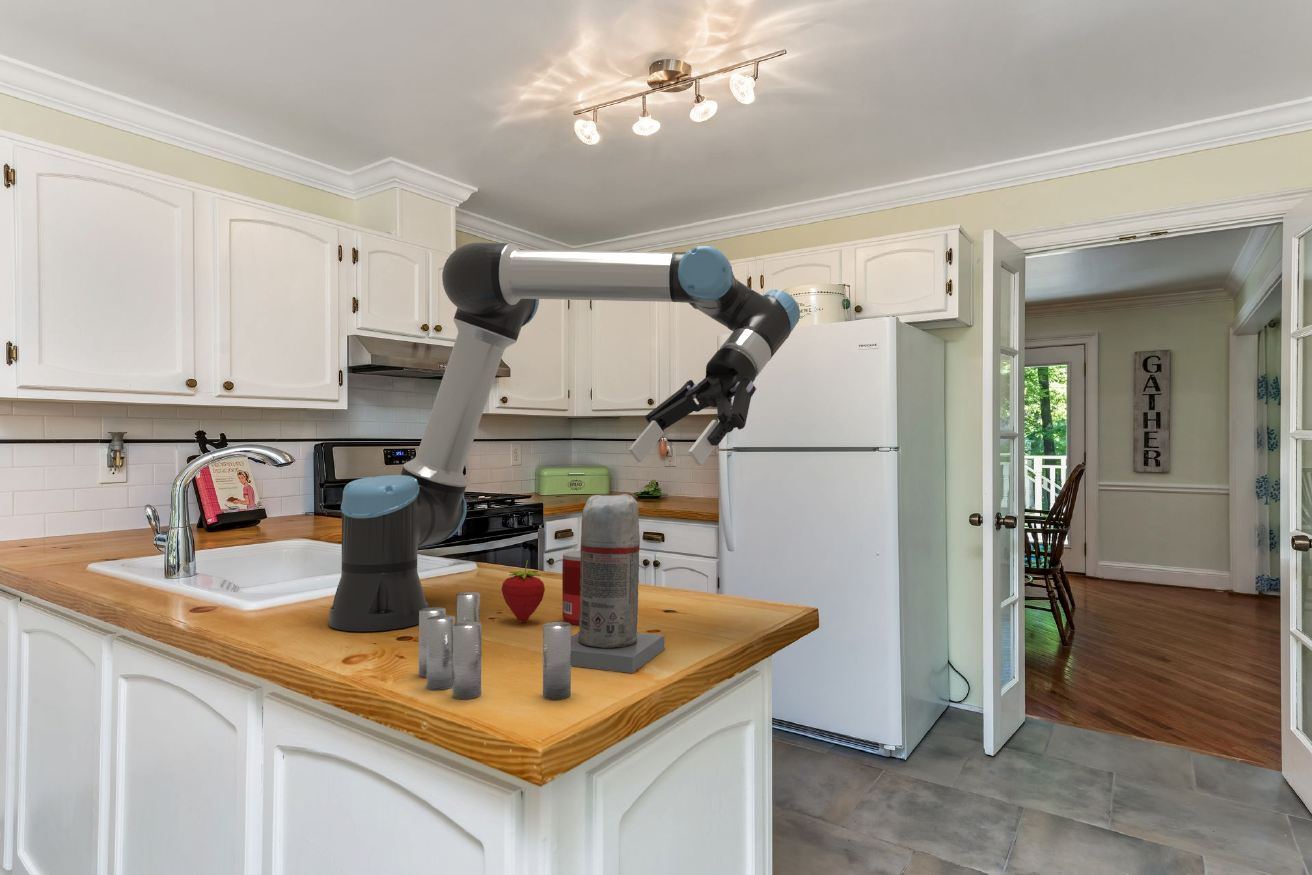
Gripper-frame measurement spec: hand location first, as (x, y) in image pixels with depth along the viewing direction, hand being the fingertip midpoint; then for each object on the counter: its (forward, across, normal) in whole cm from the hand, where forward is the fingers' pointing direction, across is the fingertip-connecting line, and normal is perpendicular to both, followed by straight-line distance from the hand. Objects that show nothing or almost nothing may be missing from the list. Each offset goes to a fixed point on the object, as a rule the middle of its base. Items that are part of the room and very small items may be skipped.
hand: (662, 457), depth 109 cm
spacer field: (+37, 0, -1) cm, 37 cm away
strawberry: (+26, +24, -13) cm, 38 cm away
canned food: (+20, +18, -19) cm, 33 cm away
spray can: (+25, -1, -11) cm, 27 cm away
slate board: (+26, -1, -12) cm, 29 cm away
